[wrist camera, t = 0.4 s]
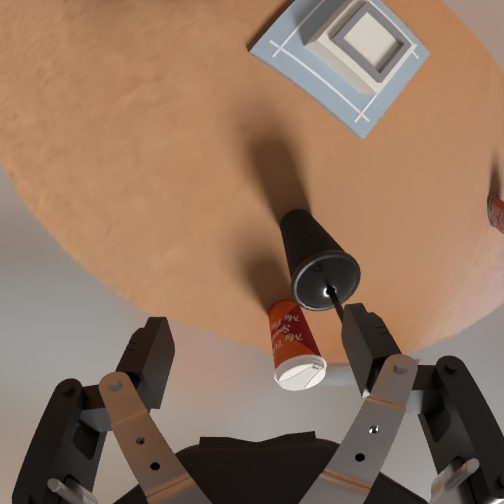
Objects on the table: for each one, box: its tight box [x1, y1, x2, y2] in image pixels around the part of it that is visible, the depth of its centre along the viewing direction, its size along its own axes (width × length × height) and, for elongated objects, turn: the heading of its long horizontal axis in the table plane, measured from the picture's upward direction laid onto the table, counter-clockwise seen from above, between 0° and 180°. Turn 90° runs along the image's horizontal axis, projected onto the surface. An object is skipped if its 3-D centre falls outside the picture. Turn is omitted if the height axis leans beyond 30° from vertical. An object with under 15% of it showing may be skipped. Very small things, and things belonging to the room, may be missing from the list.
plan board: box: [249, 0, 430, 140], centre depth 25 cm, size 18×18×7 cm
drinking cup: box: [280, 210, 361, 324], centre depth 32 cm, size 8×8×20 cm
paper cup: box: [269, 300, 326, 390], centre depth 44 cm, size 8×8×14 cm
